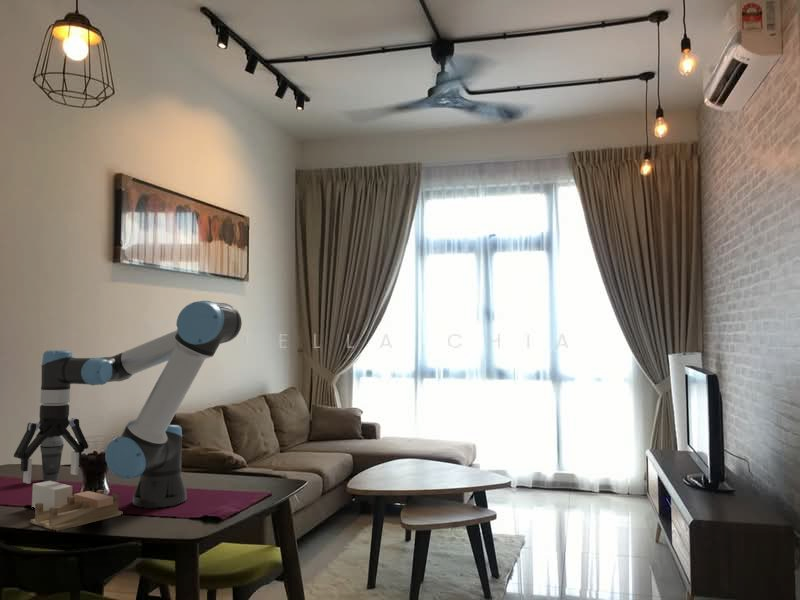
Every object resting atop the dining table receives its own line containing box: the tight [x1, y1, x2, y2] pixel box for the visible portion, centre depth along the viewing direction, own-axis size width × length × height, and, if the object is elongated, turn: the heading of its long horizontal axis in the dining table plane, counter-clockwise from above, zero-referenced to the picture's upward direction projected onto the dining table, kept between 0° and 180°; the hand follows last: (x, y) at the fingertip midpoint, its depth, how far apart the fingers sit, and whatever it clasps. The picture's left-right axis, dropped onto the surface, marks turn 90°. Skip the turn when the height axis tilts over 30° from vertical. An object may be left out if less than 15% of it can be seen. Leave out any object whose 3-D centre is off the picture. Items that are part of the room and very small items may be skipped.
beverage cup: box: [39, 436, 65, 482], centre depth 222 cm, size 7×7×20 cm
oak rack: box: [30, 489, 124, 532], centre depth 175 cm, size 13×18×5 cm
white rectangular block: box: [31, 481, 73, 510], centre depth 184 cm, size 12×5×7 cm, turn 56°
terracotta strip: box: [72, 490, 113, 508], centre depth 179 cm, size 12×4×2 cm, turn 57°
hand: (51, 478), depth 185 cm, fingers open, 13 cm apart
